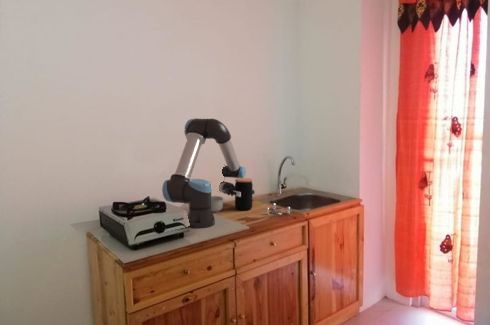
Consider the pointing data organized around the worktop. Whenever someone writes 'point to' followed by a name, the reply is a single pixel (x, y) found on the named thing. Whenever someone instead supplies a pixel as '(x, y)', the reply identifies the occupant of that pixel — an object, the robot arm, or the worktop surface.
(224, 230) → the worktop surface
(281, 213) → the pin ring
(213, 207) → the teacup
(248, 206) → the coffee jar
